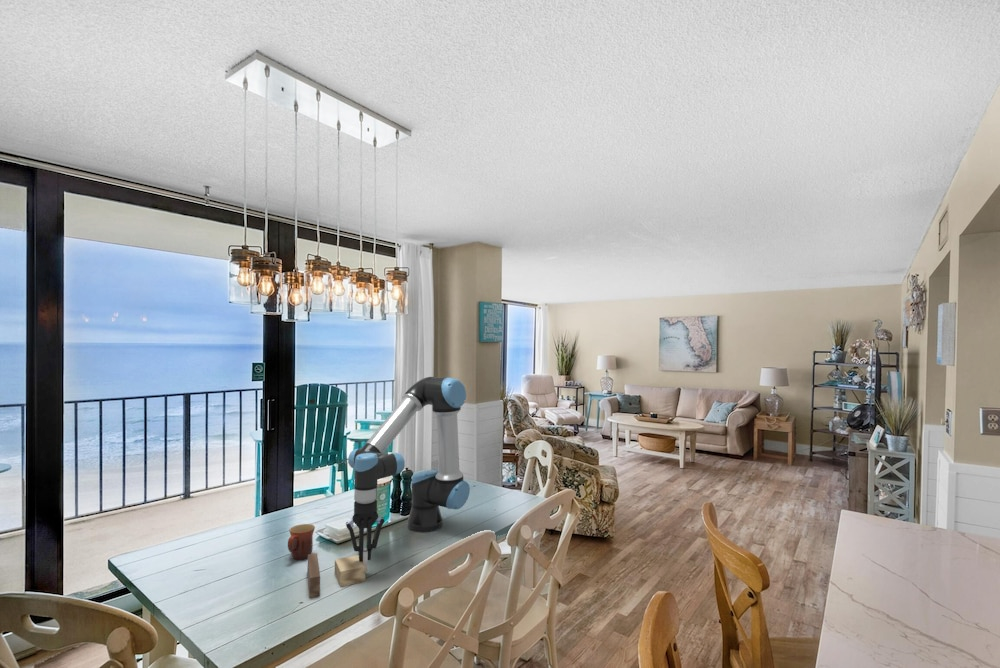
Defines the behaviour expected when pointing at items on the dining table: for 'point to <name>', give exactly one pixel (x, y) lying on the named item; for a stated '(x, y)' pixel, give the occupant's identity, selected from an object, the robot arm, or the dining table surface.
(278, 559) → the dining table surface
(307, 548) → the mug
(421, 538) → the dining table surface
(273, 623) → the dining table surface
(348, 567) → the oak block
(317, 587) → the wooden block
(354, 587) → the dining table surface
